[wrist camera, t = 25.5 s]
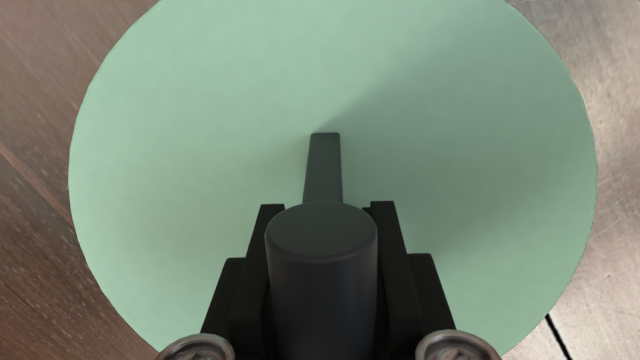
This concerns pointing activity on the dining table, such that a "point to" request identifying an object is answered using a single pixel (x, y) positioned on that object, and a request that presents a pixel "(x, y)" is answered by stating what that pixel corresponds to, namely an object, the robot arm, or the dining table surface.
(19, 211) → the dining table surface
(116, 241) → the lid
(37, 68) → the dining table surface
